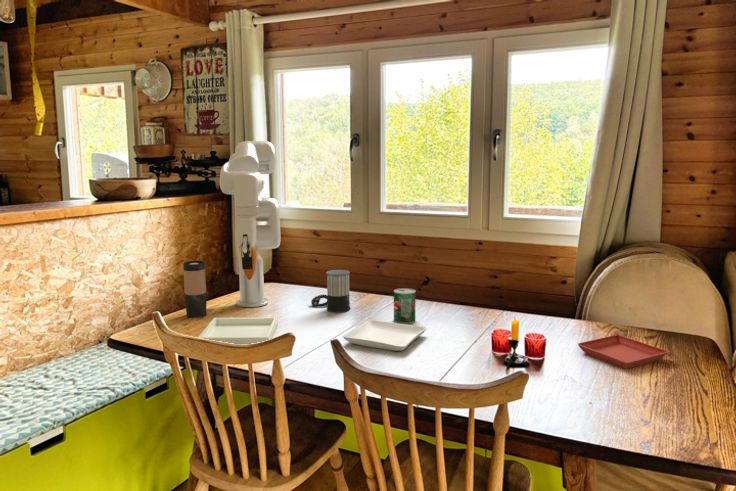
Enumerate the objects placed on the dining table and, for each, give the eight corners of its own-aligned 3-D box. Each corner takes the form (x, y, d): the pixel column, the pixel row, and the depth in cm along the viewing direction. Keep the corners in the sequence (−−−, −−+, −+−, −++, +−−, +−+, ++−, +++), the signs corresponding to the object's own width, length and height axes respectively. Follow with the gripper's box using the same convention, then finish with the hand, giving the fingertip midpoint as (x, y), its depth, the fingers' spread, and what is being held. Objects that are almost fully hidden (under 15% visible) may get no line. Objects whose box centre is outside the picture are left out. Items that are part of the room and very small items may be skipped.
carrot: (242, 278, 189) (240, 233, 187) (257, 278, 190) (256, 233, 187) (240, 281, 184) (239, 235, 182) (256, 281, 185) (255, 235, 183)
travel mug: (210, 312, 217) (207, 260, 214) (202, 318, 209) (199, 264, 206) (190, 312, 218) (188, 260, 214) (182, 317, 210) (179, 264, 207)
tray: (214, 326, 200) (214, 317, 199) (277, 325, 200) (277, 317, 200) (197, 347, 178) (197, 337, 178) (268, 346, 179) (268, 337, 178)
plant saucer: (626, 373, 158) (627, 361, 157) (575, 353, 173) (576, 342, 173) (669, 362, 166) (670, 351, 165) (616, 344, 182) (617, 334, 181)
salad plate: (427, 336, 190) (427, 326, 189) (404, 356, 171) (404, 345, 170) (369, 328, 199) (369, 318, 198) (341, 346, 180) (341, 336, 179)
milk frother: (349, 312, 216) (349, 274, 214) (308, 312, 217) (307, 274, 214) (351, 303, 231) (351, 267, 228) (312, 302, 231) (311, 266, 228)
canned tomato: (419, 321, 205) (420, 291, 204) (402, 324, 201) (402, 294, 199) (406, 316, 212) (406, 287, 210) (389, 319, 208) (389, 290, 206)
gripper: (239, 209, 192) (241, 262, 195) (230, 214, 175) (232, 273, 178) (262, 208, 192) (263, 262, 195) (254, 214, 175) (256, 272, 178)
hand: (248, 266), depth 186 cm, fingers closed on carrot, 4 cm apart
